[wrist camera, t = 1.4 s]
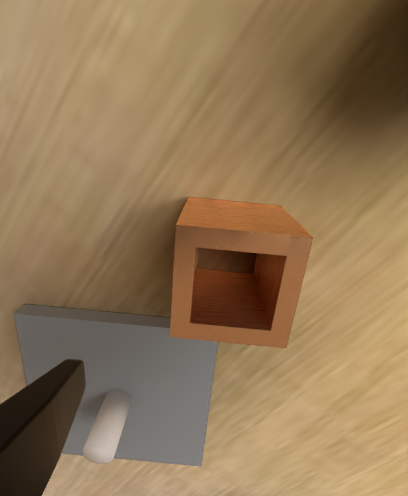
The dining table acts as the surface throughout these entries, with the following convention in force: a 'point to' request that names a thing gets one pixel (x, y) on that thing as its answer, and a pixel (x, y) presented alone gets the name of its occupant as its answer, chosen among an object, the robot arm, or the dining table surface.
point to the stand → (125, 382)
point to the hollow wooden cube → (237, 273)
